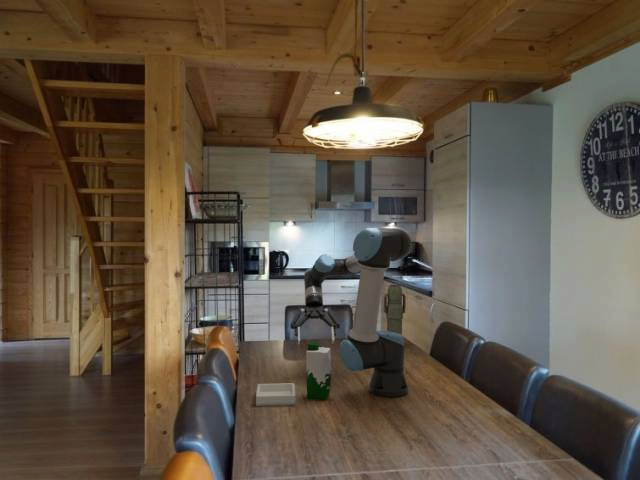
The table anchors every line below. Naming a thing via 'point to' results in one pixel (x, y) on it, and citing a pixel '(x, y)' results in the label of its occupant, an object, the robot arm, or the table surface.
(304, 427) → the table surface
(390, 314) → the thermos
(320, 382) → the soya milk
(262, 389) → the square holder
